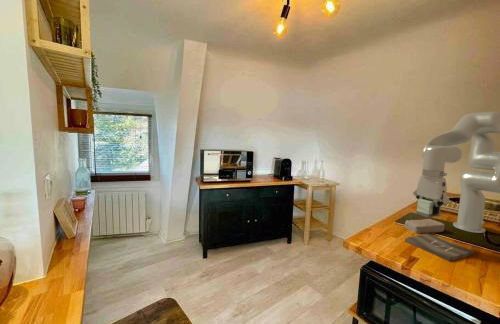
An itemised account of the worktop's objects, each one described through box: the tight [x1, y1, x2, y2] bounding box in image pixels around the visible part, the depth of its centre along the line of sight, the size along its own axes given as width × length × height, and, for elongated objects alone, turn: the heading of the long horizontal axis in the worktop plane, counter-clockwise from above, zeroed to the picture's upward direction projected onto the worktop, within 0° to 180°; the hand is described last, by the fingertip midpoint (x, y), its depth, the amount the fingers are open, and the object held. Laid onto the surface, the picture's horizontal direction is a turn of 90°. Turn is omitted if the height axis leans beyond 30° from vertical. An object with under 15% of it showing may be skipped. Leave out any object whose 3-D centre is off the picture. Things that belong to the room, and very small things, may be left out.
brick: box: [403, 218, 446, 234], centre depth 119 cm, size 17×8×5 cm, turn 97°
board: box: [404, 233, 474, 262], centre depth 100 cm, size 16×18×2 cm
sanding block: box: [416, 198, 442, 219], centre depth 103 cm, size 8×5×7 cm, turn 110°
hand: (428, 211), depth 103 cm, fingers closed on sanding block, 5 cm apart
